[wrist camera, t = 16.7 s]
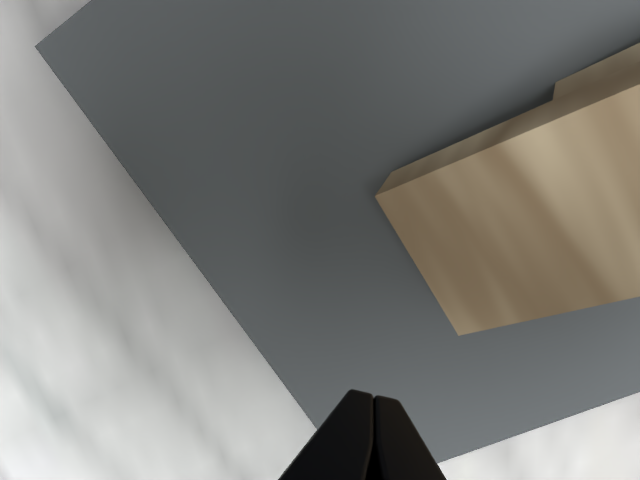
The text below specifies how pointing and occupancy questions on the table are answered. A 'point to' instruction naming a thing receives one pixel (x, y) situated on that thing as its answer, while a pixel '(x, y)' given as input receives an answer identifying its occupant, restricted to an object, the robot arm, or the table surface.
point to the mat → (348, 185)
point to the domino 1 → (529, 210)
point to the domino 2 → (597, 71)
